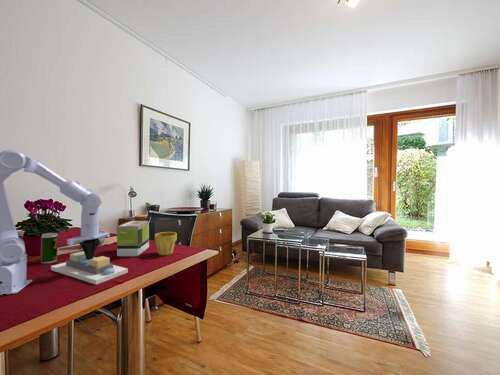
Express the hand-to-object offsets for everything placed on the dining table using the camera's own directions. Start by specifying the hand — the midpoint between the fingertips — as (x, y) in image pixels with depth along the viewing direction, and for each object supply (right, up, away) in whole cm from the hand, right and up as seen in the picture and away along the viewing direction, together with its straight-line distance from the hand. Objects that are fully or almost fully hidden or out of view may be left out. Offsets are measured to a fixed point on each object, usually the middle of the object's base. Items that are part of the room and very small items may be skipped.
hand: (89, 258), depth 88 cm
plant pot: (+20, -5, +25) cm, 33 cm away
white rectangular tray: (0, -5, 0) cm, 5 cm away
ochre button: (+6, -2, -3) cm, 7 cm away
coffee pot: (-20, -4, +31) cm, 37 cm away
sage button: (-6, -2, +3) cm, 7 cm away
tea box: (+4, -5, +26) cm, 27 cm away
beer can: (-24, -4, +9) cm, 26 cm away
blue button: (0, -3, 0) cm, 3 cm away
